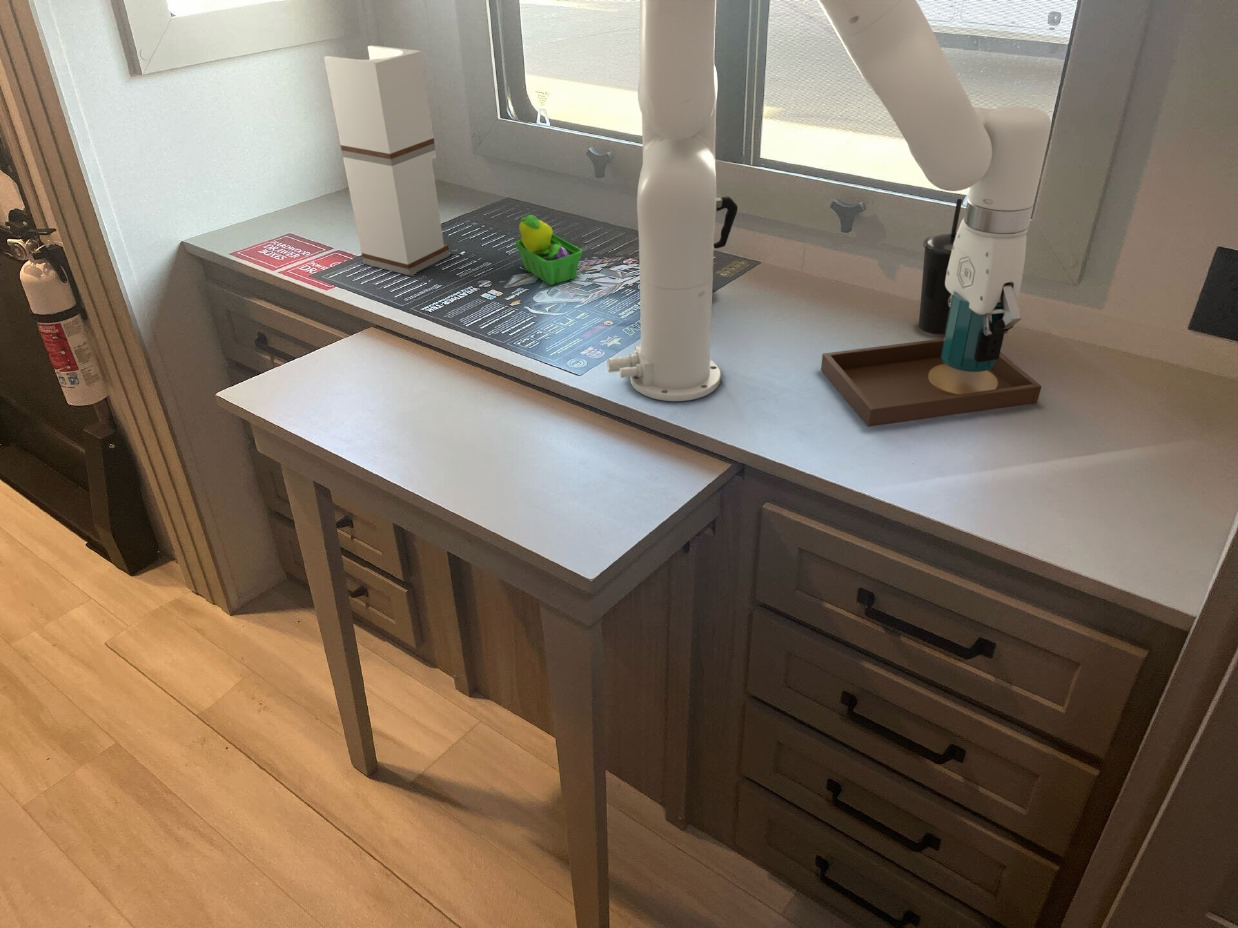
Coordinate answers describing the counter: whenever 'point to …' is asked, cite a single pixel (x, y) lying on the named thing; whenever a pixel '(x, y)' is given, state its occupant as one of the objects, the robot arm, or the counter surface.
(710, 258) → the robot arm
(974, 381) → the coaster
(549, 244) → the fruit basket
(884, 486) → the counter surface
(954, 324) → the cup
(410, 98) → the striped cream pillar
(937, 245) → the drinking cup
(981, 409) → the tray
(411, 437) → the counter surface
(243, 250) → the counter surface
